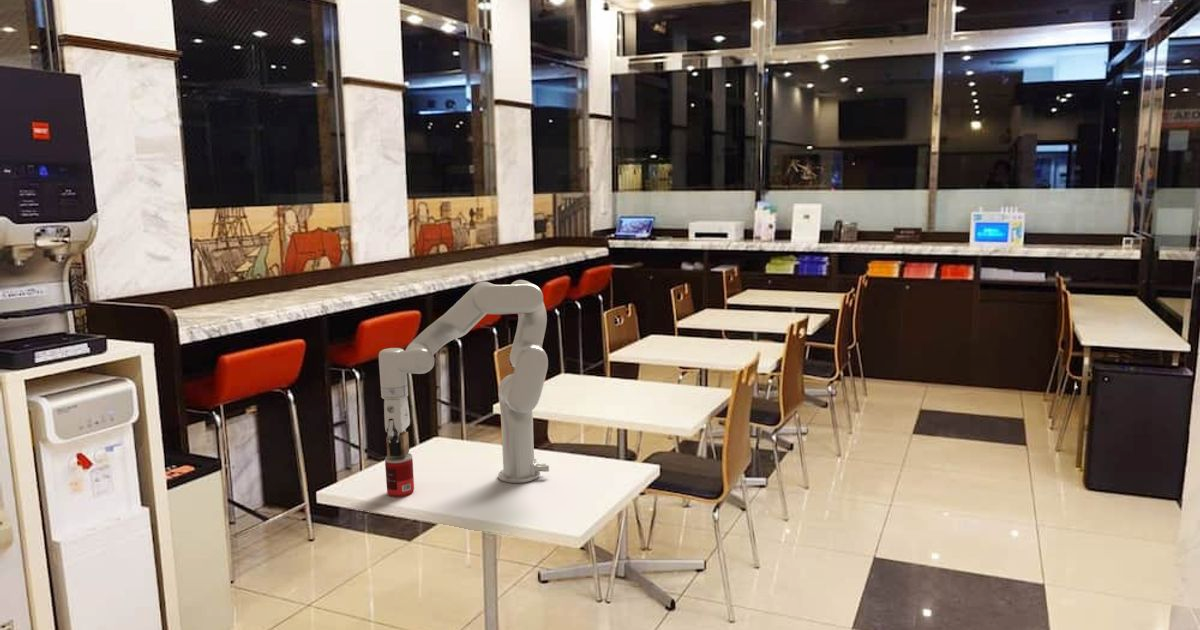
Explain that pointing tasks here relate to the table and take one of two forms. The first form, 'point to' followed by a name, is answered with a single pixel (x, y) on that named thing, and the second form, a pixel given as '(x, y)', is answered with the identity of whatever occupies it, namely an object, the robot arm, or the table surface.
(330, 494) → the table surface
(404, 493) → the canned food
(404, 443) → the walnut block
